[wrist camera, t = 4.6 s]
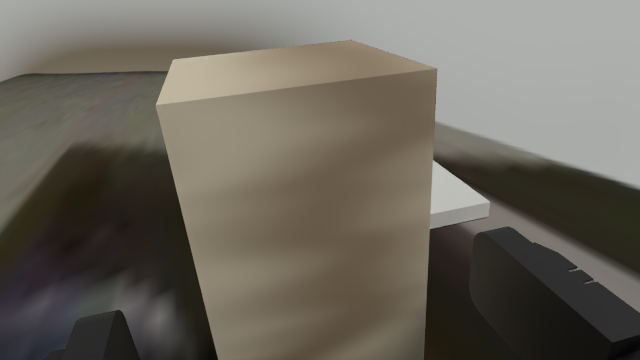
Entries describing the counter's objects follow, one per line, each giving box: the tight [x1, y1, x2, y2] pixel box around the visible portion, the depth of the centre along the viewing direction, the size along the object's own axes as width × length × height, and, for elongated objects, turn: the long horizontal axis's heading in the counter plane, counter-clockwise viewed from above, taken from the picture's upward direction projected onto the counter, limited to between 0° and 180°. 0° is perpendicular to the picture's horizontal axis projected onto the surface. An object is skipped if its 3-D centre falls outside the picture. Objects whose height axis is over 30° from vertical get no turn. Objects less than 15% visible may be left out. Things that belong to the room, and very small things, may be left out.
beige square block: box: [156, 40, 437, 360], centre depth 11 cm, size 5×5×12 cm
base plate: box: [430, 161, 490, 229], centre depth 29 cm, size 14×14×2 cm
